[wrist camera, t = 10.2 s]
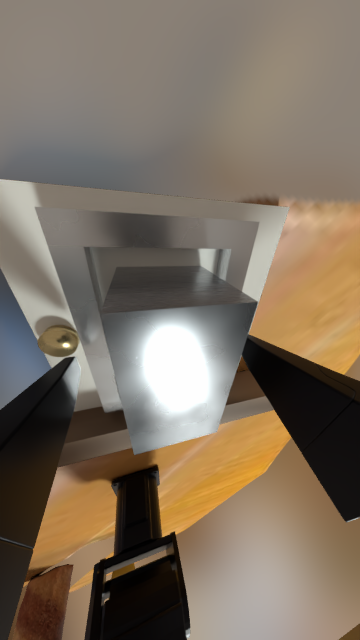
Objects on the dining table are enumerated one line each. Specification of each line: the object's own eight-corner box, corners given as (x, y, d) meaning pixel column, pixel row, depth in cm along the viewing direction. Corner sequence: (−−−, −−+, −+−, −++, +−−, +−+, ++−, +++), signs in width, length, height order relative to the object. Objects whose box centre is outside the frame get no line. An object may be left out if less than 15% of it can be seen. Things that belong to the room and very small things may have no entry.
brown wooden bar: (254, 385, 19) (272, 410, 16) (34, 432, 14) (13, 479, 11) (262, 367, 17) (284, 391, 15) (18, 413, 12) (-11, 462, 10)
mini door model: (229, 373, 16) (240, 390, 15) (77, 402, 13) (69, 428, 11) (278, 208, 9) (310, 205, 8) (-28, 179, 6) (-89, 163, 4)
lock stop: (190, 366, 13) (216, 432, 9) (133, 375, 12) (134, 455, 8) (200, 265, 9) (258, 301, 5) (116, 266, 8) (100, 313, 4)
